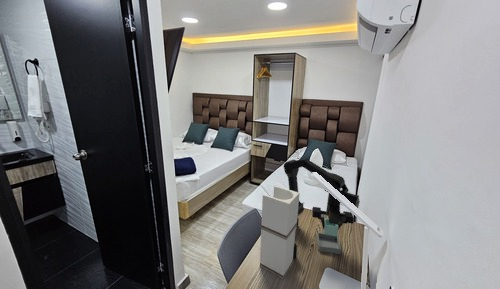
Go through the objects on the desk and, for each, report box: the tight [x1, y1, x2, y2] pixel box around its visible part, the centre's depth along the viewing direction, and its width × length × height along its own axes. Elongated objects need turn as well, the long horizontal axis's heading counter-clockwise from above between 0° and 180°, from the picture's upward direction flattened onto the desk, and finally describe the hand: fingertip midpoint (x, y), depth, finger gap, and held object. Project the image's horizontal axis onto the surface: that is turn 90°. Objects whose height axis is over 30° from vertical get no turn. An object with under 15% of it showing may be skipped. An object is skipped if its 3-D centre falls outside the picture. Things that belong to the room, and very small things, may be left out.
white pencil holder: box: [259, 185, 300, 280], centre depth 86 cm, size 11×11×35 cm
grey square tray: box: [316, 231, 343, 255], centre depth 103 cm, size 10×10×3 cm
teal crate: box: [322, 217, 339, 236], centre depth 101 cm, size 6×6×5 cm
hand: (330, 229), depth 101 cm, fingers closed on teal crate, 6 cm apart
